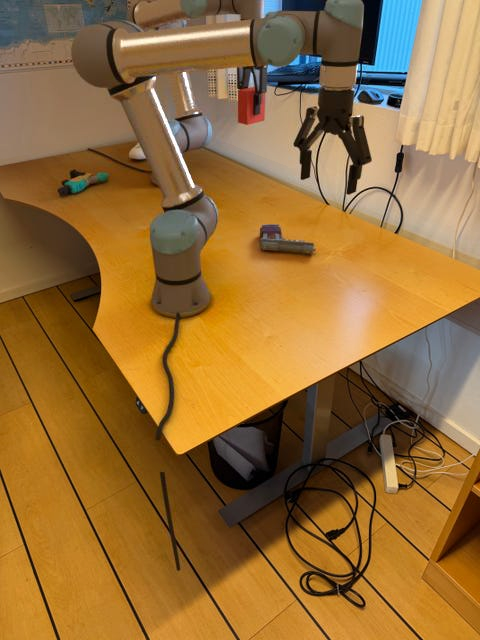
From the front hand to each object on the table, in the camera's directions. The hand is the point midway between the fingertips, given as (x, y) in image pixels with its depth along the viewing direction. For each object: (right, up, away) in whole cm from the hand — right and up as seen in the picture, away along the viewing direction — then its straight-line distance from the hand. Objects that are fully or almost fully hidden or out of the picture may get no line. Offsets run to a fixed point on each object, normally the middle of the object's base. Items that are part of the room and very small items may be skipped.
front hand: (327, 185), depth 112 cm
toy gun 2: (-6, -8, +39) cm, 40 cm away
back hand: (-17, +42, +56) cm, 72 cm away
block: (-17, +39, +58) cm, 72 cm away
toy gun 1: (-88, +22, +83) cm, 123 cm away
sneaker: (-66, +48, +117) cm, 143 cm away
